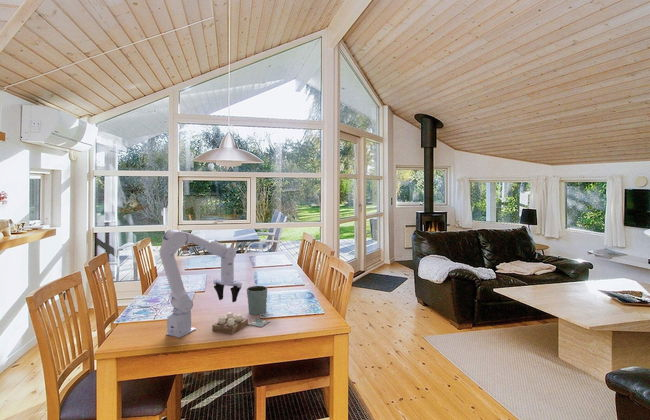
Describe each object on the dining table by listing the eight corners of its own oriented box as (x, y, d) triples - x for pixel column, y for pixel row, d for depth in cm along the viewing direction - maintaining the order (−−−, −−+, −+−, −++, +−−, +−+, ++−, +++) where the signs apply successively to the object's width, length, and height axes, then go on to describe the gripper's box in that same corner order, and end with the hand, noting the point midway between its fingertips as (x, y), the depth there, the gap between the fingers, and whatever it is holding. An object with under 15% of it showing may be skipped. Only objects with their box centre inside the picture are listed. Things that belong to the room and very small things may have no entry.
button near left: (222, 325, 155) (222, 319, 155) (217, 324, 156) (217, 318, 156) (226, 323, 158) (226, 317, 158) (221, 322, 159) (221, 316, 159)
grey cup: (263, 316, 172) (262, 292, 171) (243, 314, 174) (243, 290, 173) (270, 309, 182) (270, 286, 181) (251, 307, 184) (251, 284, 183)
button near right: (231, 327, 154) (231, 320, 153) (226, 326, 155) (226, 319, 154) (235, 325, 156) (235, 318, 156) (230, 324, 157) (230, 317, 157)
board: (231, 334, 152) (231, 328, 151) (212, 330, 155) (212, 325, 155) (247, 324, 163) (247, 319, 162) (229, 320, 166) (229, 315, 166)
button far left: (230, 321, 161) (230, 314, 160) (225, 320, 162) (225, 314, 161) (234, 319, 163) (234, 312, 163) (229, 318, 164) (229, 311, 164)
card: (261, 327, 159) (261, 326, 159) (248, 324, 162) (248, 323, 162) (269, 321, 166) (269, 320, 166) (256, 319, 168) (256, 318, 168)
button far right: (239, 323, 159) (239, 316, 158) (234, 322, 160) (234, 315, 160) (243, 320, 161) (243, 314, 161) (238, 319, 162) (238, 313, 162)
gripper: (245, 271, 168) (245, 300, 169) (220, 268, 173) (220, 296, 174) (236, 275, 161) (236, 304, 162) (210, 271, 167) (210, 300, 168)
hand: (227, 300), depth 168 cm, fingers open, 7 cm apart
